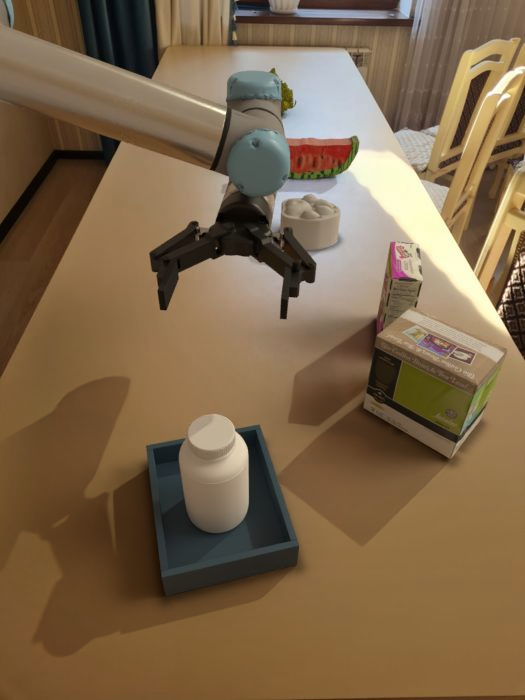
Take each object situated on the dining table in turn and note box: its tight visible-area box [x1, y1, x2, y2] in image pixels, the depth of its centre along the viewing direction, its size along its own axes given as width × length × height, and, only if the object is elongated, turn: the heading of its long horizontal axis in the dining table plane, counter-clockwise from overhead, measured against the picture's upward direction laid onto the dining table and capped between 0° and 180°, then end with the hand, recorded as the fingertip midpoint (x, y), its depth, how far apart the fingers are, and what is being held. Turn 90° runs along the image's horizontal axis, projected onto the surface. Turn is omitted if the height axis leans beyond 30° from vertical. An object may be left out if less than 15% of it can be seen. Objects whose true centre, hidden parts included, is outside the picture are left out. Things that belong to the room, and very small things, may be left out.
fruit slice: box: [286, 135, 360, 180], centre depth 145 cm, size 26×6×10 cm, turn 91°
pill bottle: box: [179, 413, 249, 533], centre depth 64 cm, size 8×8×15 cm
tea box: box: [363, 306, 509, 460], centre depth 78 cm, size 15×10×15 cm, turn 48°
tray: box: [145, 423, 300, 597], centre depth 68 cm, size 19×16×4 cm
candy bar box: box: [376, 241, 424, 336], centre depth 91 cm, size 11×5×16 cm, turn 171°
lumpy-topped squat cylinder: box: [279, 193, 342, 251], centre depth 119 cm, size 10×13×9 cm
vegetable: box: [268, 67, 297, 116], centre depth 184 cm, size 15×16×15 cm
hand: (222, 305), depth 60 cm, fingers open, 13 cm apart
